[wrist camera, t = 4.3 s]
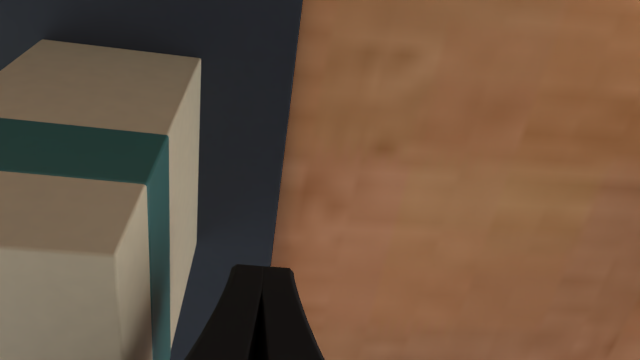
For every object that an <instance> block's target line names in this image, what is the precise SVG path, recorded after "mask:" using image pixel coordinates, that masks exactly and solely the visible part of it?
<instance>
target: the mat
mask: <svg viewBox="0 0 640 360" xmlns="http://www.w3.org/2000/svg"><path fill="white" fill-rule="evenodd" d="M302 2H303V0H0V71H1V70H2V69H3V68H5V67H6V66H7V65H9V64H10V63H11V62H13V61H14V60H15V59H17V58H18V57H19V56H21V55H22V54H23V53H25V52H26V51H27V50H29V49H30V48H31V47H32V46H34V45H35V44H36V43H38V42H39V41H40V40H42V39H44V40H52V41H61V42H69V43H77V44H86V45H94V46H103V47H111V48H119V49H128V50H136V51H144V52H153V53H161V54H169V55H178V56H186V57H194V58H200V59H201V90H200V129H199V168H198V207H197V244H196V248H195V252H194V256H193V260H192V264H191V268H190V273H189V277H188V281H187V285H186V289H185V293H184V297H183V302H182V306H181V310H180V314H179V318H178V322H177V326H176V331H175V335H174V339H173V343H172V347H171V356H170V360H184V359H185V358H186V356H187V354H188V353H189V351H190V350H191V348H192V347H193V345H194V344H195V342H196V341H197V339H198V338H199V336H200V334H201V333H202V331H203V329H204V327H205V326H206V324H207V322H208V320H209V318H210V317H211V315H212V313H213V311H214V309H215V308H216V306H217V304H218V301H219V299H220V297H221V295H222V293H223V291H224V289H225V286H226V284H227V281H228V278H229V275H230V272H231V268H232V267H233V266H235V265H236V264H242V265H255V266H267V267H270V266H271V258H272V249H273V241H274V233H275V225H276V216H277V208H278V200H279V192H280V183H281V175H282V167H283V159H284V150H285V142H286V134H287V126H288V117H289V109H290V101H291V93H292V84H293V76H294V68H295V59H296V51H297V43H298V35H299V26H300V18H301V10H302Z"/></svg>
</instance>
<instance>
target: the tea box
mask: <svg viewBox="0 0 640 360" xmlns="http://www.w3.org/2000/svg"><path fill="white" fill-rule="evenodd" d="M200 90H201V59H200V58H194V57H186V56H178V55H169V54H161V53H153V52H144V51H136V50H128V49H119V48H111V47H103V46H94V45H86V44H77V43H69V42H61V41H52V40H44V39H42V40H40V41H39V42H38V43H36V44H35V45H34V46H32V47H31V48H30V49H29V50H27V51H26V52H25V53H23V54H22V55H21V56H19V57H18V58H17V59H15V60H14V61H13V62H11V63H10V64H9V65H7V66H6V67H5V68H3V69H2V70H1V71H0V360H170V356H171V347H172V343H173V339H174V335H175V331H176V326H177V322H178V318H179V314H180V310H181V306H182V302H183V297H184V293H185V289H186V285H187V281H188V277H189V273H190V268H191V264H192V260H193V256H194V252H195V248H196V244H197V207H198V168H199V129H200Z"/></svg>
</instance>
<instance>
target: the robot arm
mask: <svg viewBox="0 0 640 360" xmlns="http://www.w3.org/2000/svg"><path fill="white" fill-rule="evenodd" d="M184 360H324V358H323V356H322V353H321V351H320V349H319V347H318V345H317V342H316V340H315V338H314V335H313V333H312V330H311V328H310V326H309V323H308V321H307V318H306V315H305V313H304V310H303V307H302V304H301V301H300V298H299V295H298V291H297V287H296V283H295V279H294V273H293V272H292V270H291V269H290V268H280V267H267V266H255V265H242V264H236V265H235V266H233V267H232V268H231V272H230V275H229V278H228V281H227V284H226V286H225V289H224V291H223V293H222V295H221V297H220V299H219V301H218V304H217V306H216V308H215V309H214V311H213V313H212V315H211V317H210V318H209V320H208V322H207V324H206V326H205V327H204V329H203V331H202V333H201V334H200V336H199V338H198V339H197V341H196V342H195V344H194V345H193V347H192V348H191V350H190V351H189V353H188V354H187V356H186V358H185V359H184Z"/></svg>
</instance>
